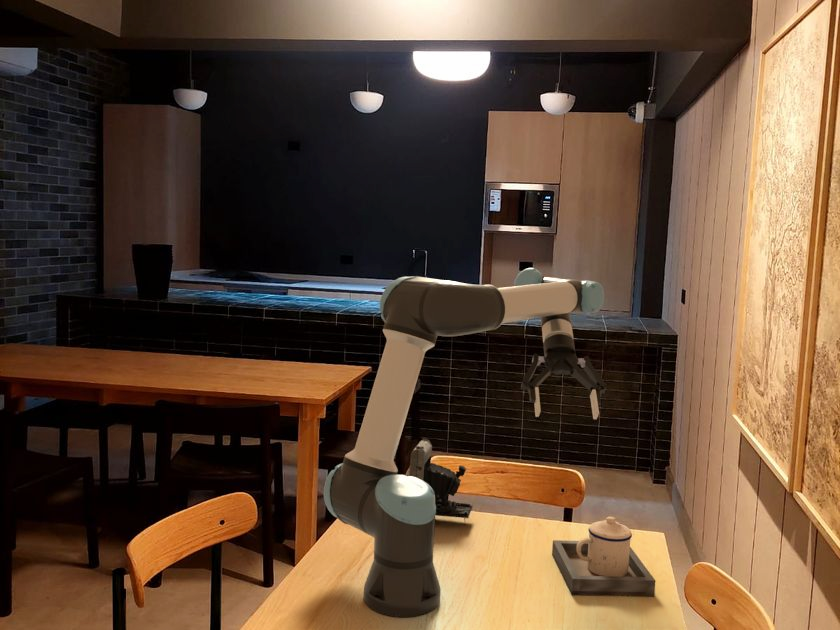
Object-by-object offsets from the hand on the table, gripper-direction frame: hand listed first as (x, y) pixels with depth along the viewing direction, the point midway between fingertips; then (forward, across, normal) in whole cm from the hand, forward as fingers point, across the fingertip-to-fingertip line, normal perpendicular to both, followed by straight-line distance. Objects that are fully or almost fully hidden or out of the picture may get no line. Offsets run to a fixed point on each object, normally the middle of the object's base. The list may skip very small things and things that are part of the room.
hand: (567, 415), depth 175 cm
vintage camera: (+14, +27, -31) cm, 43 cm away
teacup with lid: (+32, -6, -10) cm, 35 cm away
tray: (+33, -6, -11) cm, 35 cm away
